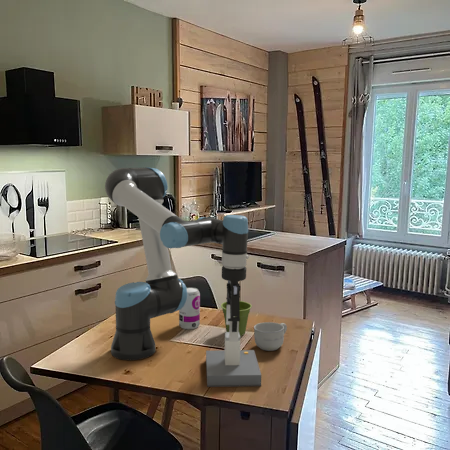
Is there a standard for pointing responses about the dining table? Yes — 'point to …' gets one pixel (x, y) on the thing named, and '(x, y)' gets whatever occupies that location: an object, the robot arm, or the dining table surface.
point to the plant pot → (243, 316)
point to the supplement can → (190, 310)
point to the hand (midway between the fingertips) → (231, 332)
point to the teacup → (269, 335)
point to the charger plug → (232, 351)
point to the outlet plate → (232, 370)
